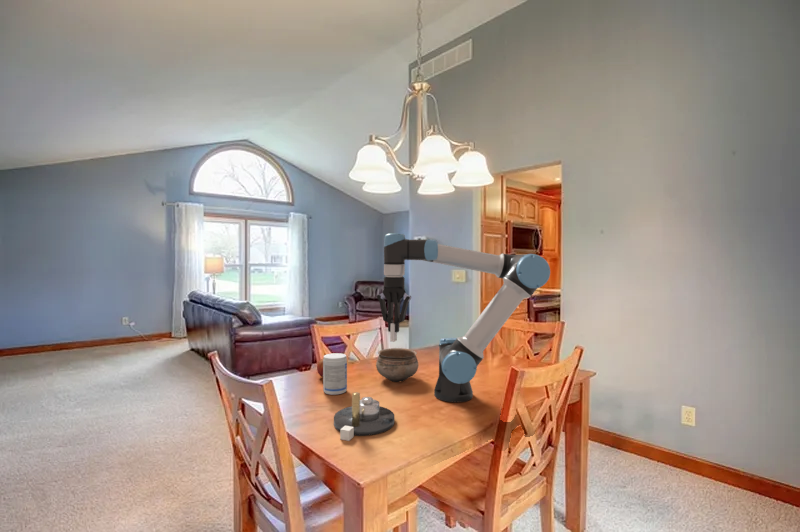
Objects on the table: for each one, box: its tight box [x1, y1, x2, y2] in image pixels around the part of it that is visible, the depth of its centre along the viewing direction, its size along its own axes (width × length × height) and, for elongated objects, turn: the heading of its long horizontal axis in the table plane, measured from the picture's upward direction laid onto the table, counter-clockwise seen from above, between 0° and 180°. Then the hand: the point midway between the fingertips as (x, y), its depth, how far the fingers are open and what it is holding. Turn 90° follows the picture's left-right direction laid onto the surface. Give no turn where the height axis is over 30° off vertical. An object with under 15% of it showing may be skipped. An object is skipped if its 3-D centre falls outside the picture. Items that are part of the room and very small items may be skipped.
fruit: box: [316, 358, 323, 378], centre depth 180 cm, size 11×10×10 cm
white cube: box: [339, 426, 355, 442], centre depth 121 cm, size 3×3×3 cm
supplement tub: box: [322, 352, 348, 396], centre depth 162 cm, size 10×10×15 cm
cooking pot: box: [375, 347, 419, 383], centre depth 178 cm, size 25×19×12 cm
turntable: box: [333, 391, 395, 437], centre depth 132 cm, size 20×20×12 cm
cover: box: [360, 396, 380, 422], centre depth 132 cm, size 8×8×6 cm
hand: (393, 340), depth 145 cm, fingers closed
